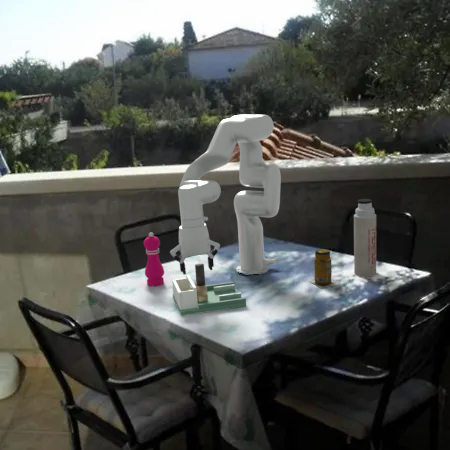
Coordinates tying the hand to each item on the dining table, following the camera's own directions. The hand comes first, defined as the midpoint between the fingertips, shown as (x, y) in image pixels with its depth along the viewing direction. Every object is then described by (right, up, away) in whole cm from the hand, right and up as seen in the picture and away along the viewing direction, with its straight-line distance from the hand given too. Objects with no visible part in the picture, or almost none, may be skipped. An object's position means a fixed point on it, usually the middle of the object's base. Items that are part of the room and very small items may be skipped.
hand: (197, 270), depth 214 cm
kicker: (+1, -9, +2) cm, 10 cm away
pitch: (+4, -11, +3) cm, 12 cm away
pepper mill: (-17, -7, +25) cm, 30 cm away
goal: (-4, -10, +1) cm, 11 cm away
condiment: (+45, -6, +14) cm, 47 cm away
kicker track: (+10, -9, +4) cm, 14 cm away
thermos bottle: (+62, -3, +21) cm, 65 cm away
